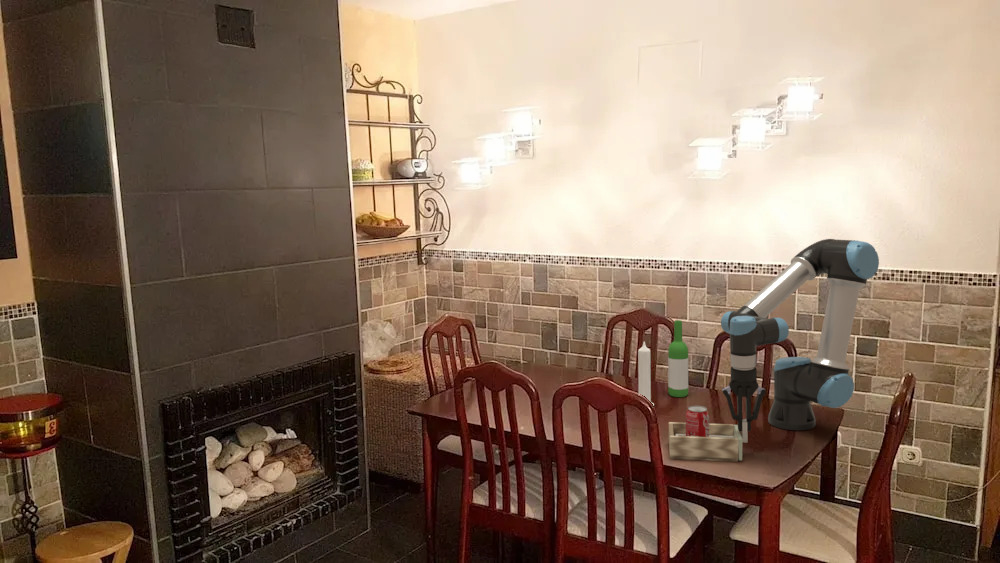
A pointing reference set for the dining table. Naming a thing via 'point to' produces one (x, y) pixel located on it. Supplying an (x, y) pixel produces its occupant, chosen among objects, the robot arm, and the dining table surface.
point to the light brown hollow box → (703, 444)
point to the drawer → (736, 435)
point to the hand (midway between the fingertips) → (744, 440)
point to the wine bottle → (678, 364)
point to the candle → (644, 372)
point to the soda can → (697, 421)
